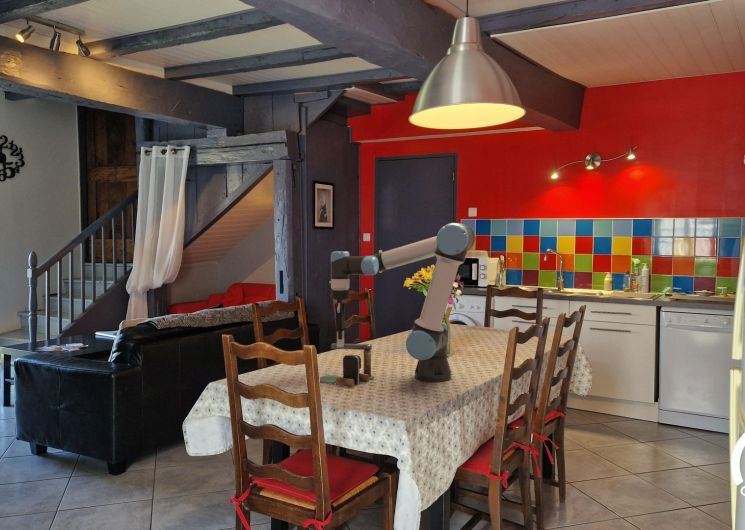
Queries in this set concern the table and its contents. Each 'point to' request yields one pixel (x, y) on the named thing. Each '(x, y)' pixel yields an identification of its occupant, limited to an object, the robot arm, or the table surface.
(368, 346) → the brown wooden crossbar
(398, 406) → the table surface
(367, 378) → the cradle
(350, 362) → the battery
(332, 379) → the mat
